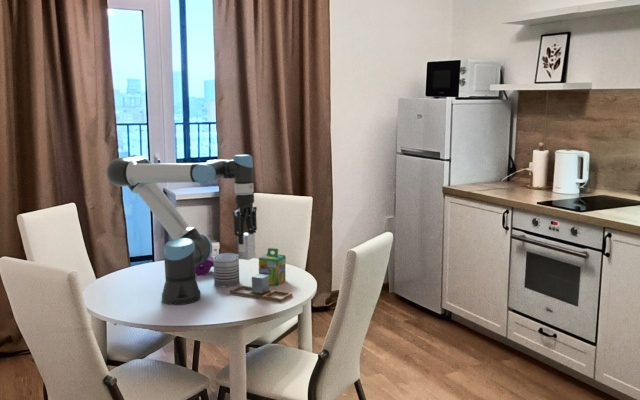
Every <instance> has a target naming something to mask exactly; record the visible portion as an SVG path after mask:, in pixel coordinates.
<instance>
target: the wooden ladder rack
mask: <svg viewBox="0 0 640 400" xmlns="http://www.w3.org/2000/svg"><path fill="white" fill-rule="evenodd" d="M241 290H246V291H247V290H249V291H247V292H242V291H241ZM229 294H230V295H234V296H241V297H248V298H254V299H258V300H259V299H260V300H266V301H270V300H271V302H276V301H277V303H283V302H284V301H286V300H288V299H290V298H292V297H293V292H289V291H288V292H287V291H283V290H282V291H281V290H276V289H269V293H267V294H265V295H263V296H262V295H256V294H252V286H248V285H242V284H241V285H240V286H238V287H235V288H233V289H230V290H229ZM277 294H278V296H282V297H275V296H274V295H277Z"/></svg>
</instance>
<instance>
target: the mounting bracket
mask: <svg viewBox="0 0 640 400" xmlns="http://www.w3.org/2000/svg"><path fill="white" fill-rule="evenodd" d="M213 257H214V256H212V255H210V257H209V258H208V259H207V260H206V261H205V262H203V263H201V264H199V265H197V266H196V267H195V276H198V277H203V276H207V275H208V274H209V273H210V271H211V269H212V268H214V260H213Z"/></svg>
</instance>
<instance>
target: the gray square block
mask: <svg viewBox="0 0 640 400" xmlns="http://www.w3.org/2000/svg"><path fill="white" fill-rule="evenodd" d="M251 287H252V290H251V291H252V294H256V295H262V296H263V295H265V294H267V293H269V290H270V285H269V275H264V274H259V273H257V274H255V275H253V276H251Z"/></svg>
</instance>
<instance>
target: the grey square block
mask: <svg viewBox="0 0 640 400" xmlns="http://www.w3.org/2000/svg"><path fill="white" fill-rule="evenodd" d="M255 234H256V233H249V232H248V231H247V232H245V231H244V236H245V243H246V252H239V240H238V236H236V237H237V238H236V239H237V254H238V259H239V260H245V261H249V260H252V259H254V258H256V238H255V236H256V235H255Z"/></svg>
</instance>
